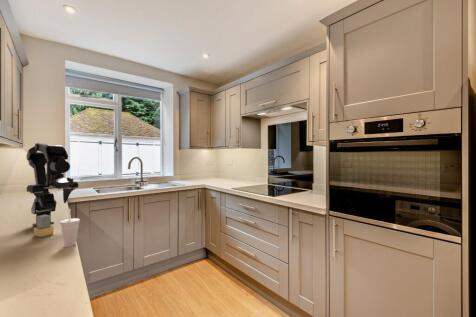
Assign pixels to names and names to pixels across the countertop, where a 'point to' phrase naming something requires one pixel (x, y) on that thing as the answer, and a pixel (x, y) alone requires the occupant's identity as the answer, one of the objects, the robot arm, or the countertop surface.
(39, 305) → the countertop surface
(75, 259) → the countertop surface
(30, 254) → the countertop surface
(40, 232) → the socket block
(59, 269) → the countertop surface
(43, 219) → the plug
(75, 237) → the smoothie
